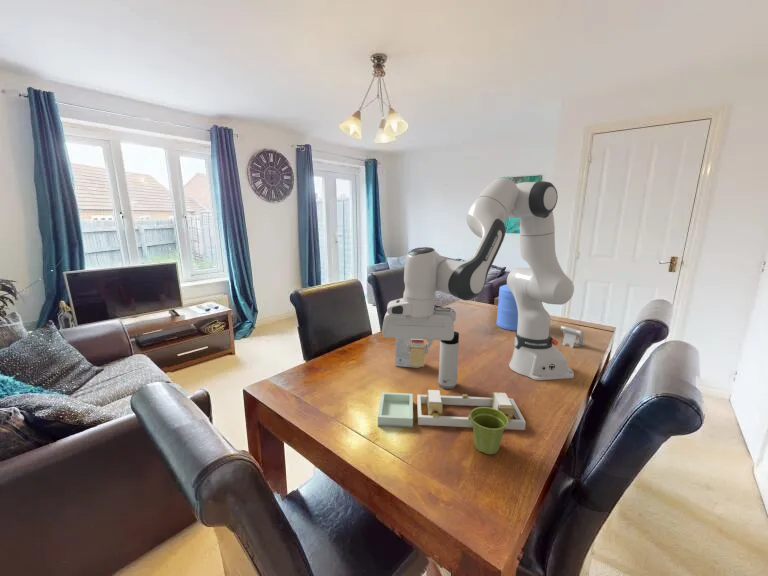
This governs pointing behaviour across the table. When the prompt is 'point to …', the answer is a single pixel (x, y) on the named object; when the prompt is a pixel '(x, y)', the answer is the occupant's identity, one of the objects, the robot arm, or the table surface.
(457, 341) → the travel mug
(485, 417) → the plant pot
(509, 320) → the water jug
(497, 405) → the plain fuse
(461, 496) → the table surface
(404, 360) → the ink cartridge box
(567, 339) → the portable electronic device stand
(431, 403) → the plain fuse
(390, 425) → the sage tray
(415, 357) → the block
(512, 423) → the clip rack
